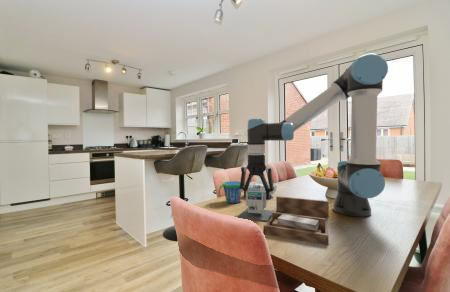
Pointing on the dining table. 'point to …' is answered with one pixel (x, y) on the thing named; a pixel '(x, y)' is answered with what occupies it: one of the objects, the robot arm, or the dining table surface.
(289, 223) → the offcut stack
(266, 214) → the mat
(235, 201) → the snack cup
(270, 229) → the open wooden box
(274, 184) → the cereal bowl
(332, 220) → the dining table surface
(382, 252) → the dining table surface
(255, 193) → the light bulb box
